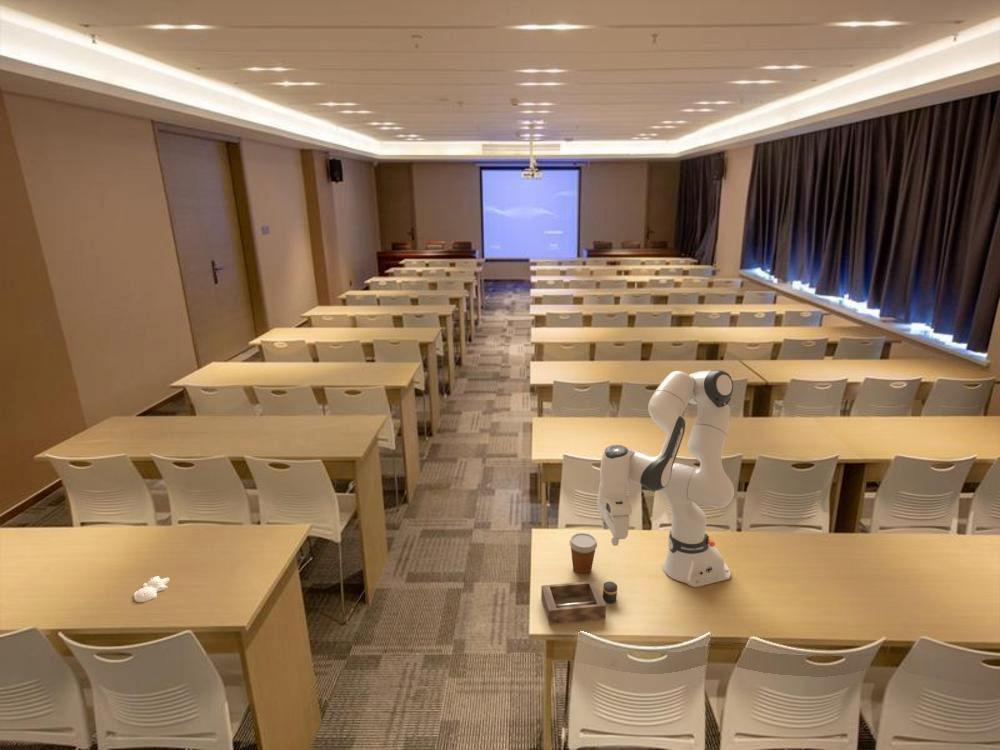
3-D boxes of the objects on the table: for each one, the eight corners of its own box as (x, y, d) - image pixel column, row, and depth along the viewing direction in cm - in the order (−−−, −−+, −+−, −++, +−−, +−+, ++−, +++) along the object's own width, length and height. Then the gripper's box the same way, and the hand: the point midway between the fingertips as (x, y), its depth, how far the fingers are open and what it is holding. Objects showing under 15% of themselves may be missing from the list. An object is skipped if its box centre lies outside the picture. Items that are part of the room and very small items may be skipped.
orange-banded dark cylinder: (614, 593, 199) (614, 580, 198) (618, 602, 195) (619, 589, 194) (600, 594, 199) (601, 582, 197) (604, 604, 195) (605, 591, 193)
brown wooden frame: (595, 593, 199) (595, 580, 198) (605, 618, 188) (606, 605, 187) (541, 598, 197) (541, 585, 196) (548, 624, 186) (548, 610, 184)
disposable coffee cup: (595, 579, 206) (596, 549, 202) (567, 576, 208) (568, 546, 204) (596, 563, 215) (598, 533, 211) (569, 560, 217) (570, 530, 213)
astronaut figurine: (176, 582, 207) (174, 574, 206) (148, 605, 196) (146, 597, 195) (155, 577, 209) (154, 570, 209) (126, 600, 199) (124, 592, 198)
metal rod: (597, 602, 191) (597, 600, 190) (598, 604, 190) (598, 602, 190) (550, 607, 189) (551, 604, 189) (551, 609, 188) (551, 606, 188)
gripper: (593, 481, 197) (591, 519, 201) (613, 514, 178) (610, 554, 182) (612, 480, 198) (609, 518, 202) (634, 512, 178) (630, 553, 182)
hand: (609, 536), depth 192 cm, fingers open, 8 cm apart
